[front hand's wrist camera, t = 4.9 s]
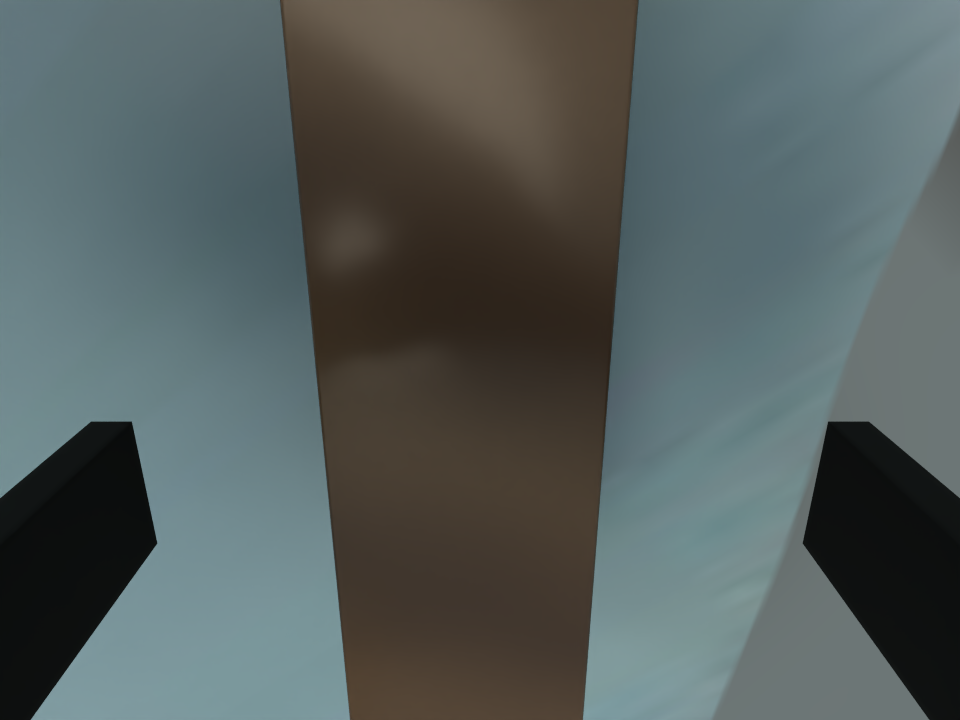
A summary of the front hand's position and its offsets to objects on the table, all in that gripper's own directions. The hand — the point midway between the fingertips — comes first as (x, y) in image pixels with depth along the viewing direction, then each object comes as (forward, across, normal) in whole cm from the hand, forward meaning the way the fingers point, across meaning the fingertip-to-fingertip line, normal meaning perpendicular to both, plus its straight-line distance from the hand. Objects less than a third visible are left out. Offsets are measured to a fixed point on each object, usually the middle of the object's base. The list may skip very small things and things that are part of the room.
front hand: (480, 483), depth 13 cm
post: (+8, 0, -27) cm, 28 cm away
